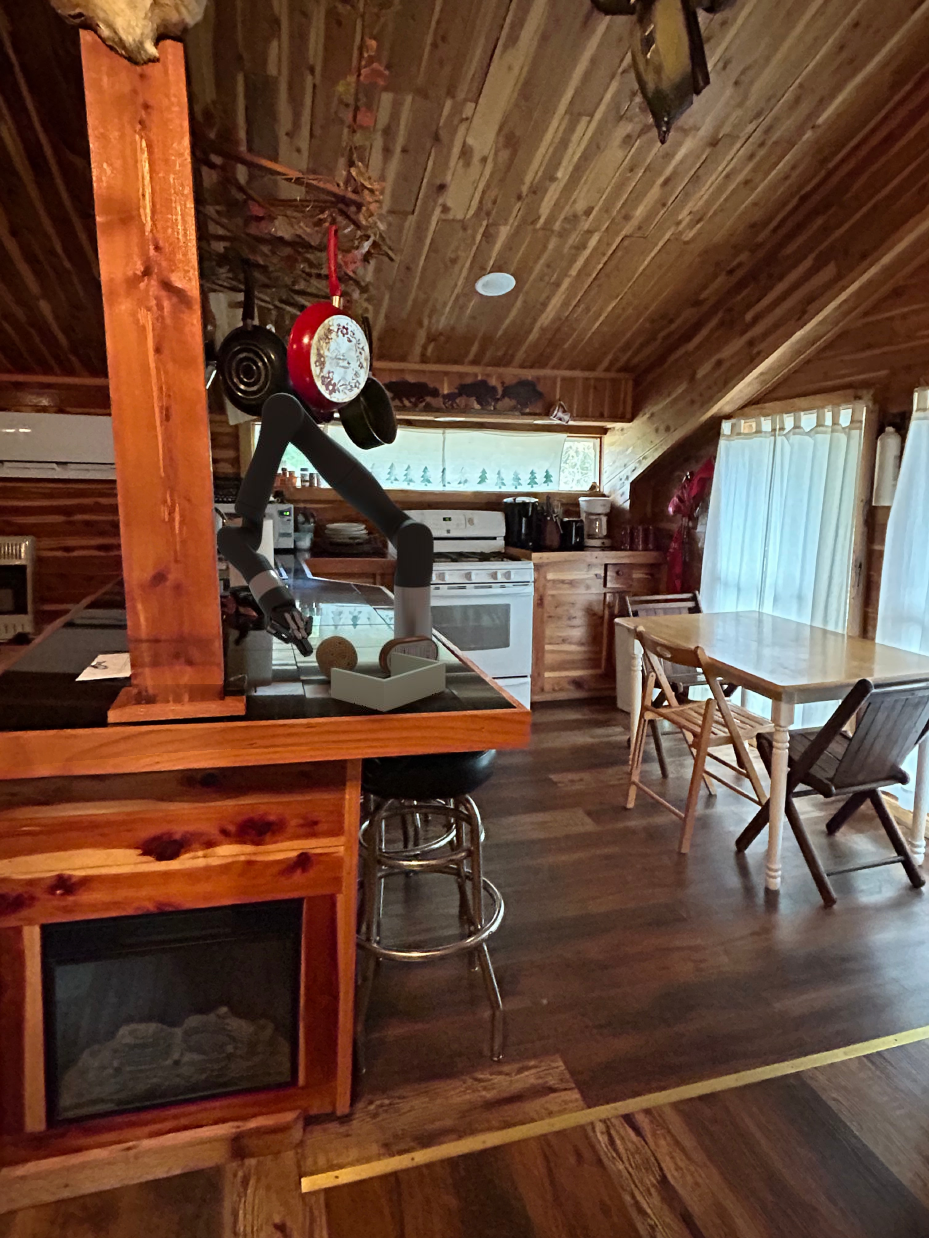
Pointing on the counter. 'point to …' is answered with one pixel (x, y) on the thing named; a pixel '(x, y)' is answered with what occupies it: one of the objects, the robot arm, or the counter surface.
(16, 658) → the counter surface
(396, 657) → the box
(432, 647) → the tin
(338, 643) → the natural sponge
